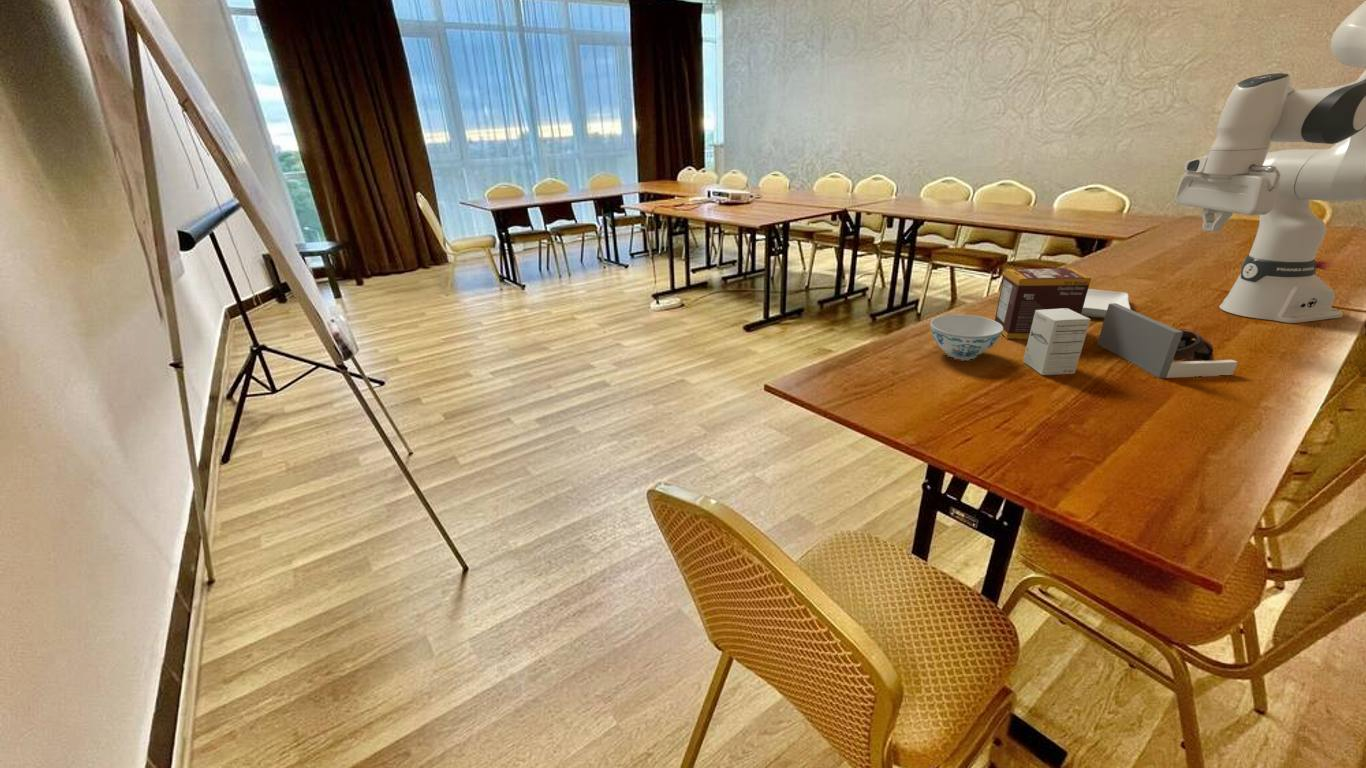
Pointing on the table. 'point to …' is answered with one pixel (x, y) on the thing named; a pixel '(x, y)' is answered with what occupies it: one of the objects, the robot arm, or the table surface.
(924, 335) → the table surface
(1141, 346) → the display stand
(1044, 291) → the supplement box
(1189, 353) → the pottery mug
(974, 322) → the chinaware
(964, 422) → the table surface
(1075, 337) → the supplement box
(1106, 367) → the table surface
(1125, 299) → the salad plate
